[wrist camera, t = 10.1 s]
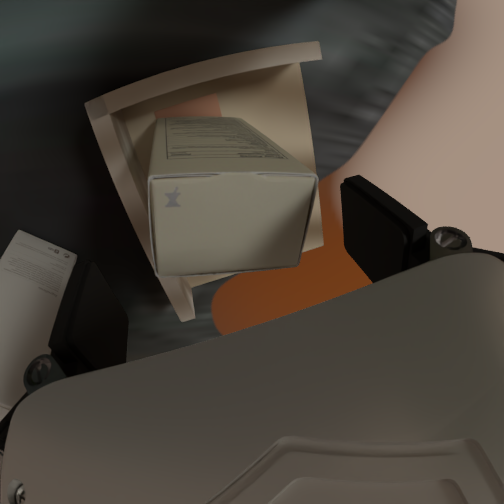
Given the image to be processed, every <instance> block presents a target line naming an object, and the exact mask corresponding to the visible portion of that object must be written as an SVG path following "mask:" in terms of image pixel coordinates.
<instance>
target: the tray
mask: <svg viewBox="0 0 504 504" xmlns="http://www.w3.org/2000/svg"><path fill="white" fill-rule="evenodd" d="M320 59H322V56H321V50H320V45H319V41H316V42H305V43H296V44H288V45H281V46H274V47H268V48H262V49H256V50H250V51H245V52H240V53H235V54H231V55H226V56H222V57H217V58H213V59H209V60H205V61H201V62H198V63H194V64H190V65H187V66H183V67H180V68H176V69H173V70H170V71H167V72H163V73H160V74H157V75H154V76H151V77H148V78H146V79H143V80H140V81H137V82H134V83H132V84H129V85H126V86H124V87H121V88H119V89H116V90H114V91H111V92H109V93H106V94H104V95H102V96H99V97H97V98H95V99H93V100H91V101H88V102H86V103H84V105H85V108H86V111H87V114H88V117H89V119H90V122H91V125H92V128H93V131H94V133H95V136H96V139H97V141H98V144H99V147H100V149H101V152H102V154H103V157H104V159H105V162H106V165H107V167H108V170H109V172H110V174H111V177H112V179H113V182H114V184H115V186H116V189H117V191H118V194H119V196H120V198H121V201H122V203H123V205H124V207H125V210H126V212H127V214H128V216H129V219H130V221H131V223H132V225H133V227H134V229H135V232H136V234H137V236H138V238H139V240H140V242H141V244H142V246H143V249H144V251H145V253H146V255H147V257H148V259H149V261H150V263H151V265H152V267H153V269H154V265H153V259H152V252H151V243H150V232H149V215H148V172H149V165H150V158H151V150H152V143H153V136H154V130H155V124H156V120H157V119H158V118H168V117H189V116H215V117H235V118H242V119H243V120H244V121H246V122H247V123H249V124H250V125H252V126H253V127H254V128H256V129H257V130H258V131H260V132H261V133H263V134H264V135H265V136H267V137H268V138H269V139H271V140H272V141H273V142H275V143H276V144H277V145H279V146H280V147H281V148H283V149H284V150H285V151H287V152H288V153H289V154H291V155H292V156H293V157H294V158H296V159H297V160H298V161H300V162H301V163H302V164H303V165H305V166H306V167H307V168H309V169H310V170H311V171H312V172H314V173H315V174H316V167H315V159H314V151H313V144H312V137H311V130H310V123H309V117H308V110H307V104H306V98H305V92H304V86H303V80H302V75H301V69H300V64H299V62H304V61H312V60H320ZM320 246H323V233H322V222H321V212H320V202H319V193H318V186H317V191H316V196H315V201H314V206H313V210H312V214H311V218H310V223H309V227H308V232H307V235H306V239H305V243H304V247H303V250H302V252H305V251H308V250H311V249H314V248H317V247H320ZM234 274H236V273H234ZM230 275H233V274H222V275H209V276H194V277H174V278H173V277H166V278H159V277H158V279H159V281H160V283H161V285H162V287H163V288H164V290H165V292H166V294H167V296H168V298H169V300H170V302H171V304H172V305H173V307H174V309H175V311H176V313H177V315H178V316H179V318H180V320H181V322H184V321H187V320H191V319H194V318H195V313H194V305H193V298H192V291H191V287H194V286H198V285H201V284H204V283H207V282H211V281H214V280H217V279H220V278H223V277H227V276H230Z"/></svg>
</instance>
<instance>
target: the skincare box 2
mask: <svg viewBox="0 0 504 504" xmlns="http://www.w3.org/2000/svg"><path fill="white" fill-rule="evenodd" d="M318 181H319V179H318V176H317V175H316V174H315V173H314V172H312V171H311V170H310V169H309V168H307V167H306V166H305V165H303V164H302V163H301V162H300V161H298V160H297V159H296V158H294V157H293V156H292V155H291V154H289V153H288V152H287V151H285V150H284V149H283V148H281V147H280V146H279V145H277V144H276V143H275V142H273V141H272V140H271V139H269V138H268V137H267V136H265V135H264V134H263V133H261V132H260V131H258V130H257V129H256V128H254V127H253V126H252V125H250V124H249V123H247V122H246V121H244V120H243V119H242V118H235V117H215V116H189V117H168V118H158V119H157V120H156V124H155V130H154V136H153V143H152V150H151V158H150V165H149V172H148V215H149V232H150V243H151V252H152V259H153V265H154V273H155V275H156V276H157V277H159V278H166V277H173V278H174V277H194V276H209V275H222V274H234V273H244V272H254V271H265V270H273V269H281V268H290V267H297V266H298V265H299V263H300V259H301V254H302V250H303V247H304V243H305V239H306V235H307V232H308V227H309V223H310V218H311V214H312V210H313V206H314V201H315V196H316V191H317V186H318Z"/></svg>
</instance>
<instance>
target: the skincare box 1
mask: <svg viewBox="0 0 504 504" xmlns="http://www.w3.org/2000/svg"><path fill="white" fill-rule="evenodd" d="M76 260H77V255H76V254H74V253H72V252H70V251H67V250H65V249H63V248H61V247H58V246H56V245H54V244H51V243H49V242H47V241H44V240H42V239H40V238H37V237H35V236H33V235H31V234H28V233H26V232H24V231H21V230H18V231H17V233H16V234H15V236H14V237H13V239H12V241H11V242H10V244H9V246H8V247H7V249H6V251H5V252H4V254H3V256H2V257H1V259H0V421H1V420H2V419H3V418H4V417H5V416H6V414H7V413H8V412H9V411H10V410H11V409H12V407H13V406H14V405H15V404H16V403H17V402H18V401H19V399H20V398H21V397H22V396H23V395H24V394H25V393H26V392H27V390H26V388H25V386H24V382H23V376H24V373H25V370H26V368H27V367H28V365H29V364H30V363H31V361H32V360H33V359H35V358H36V357H38V356H40V355H42V354H49V355H50V353H51V349H50V348H49V347H48V343H49V339H50V335H51V332H52V328H53V325H54V322H55V319H56V315H57V312H58V309H59V306H60V303H61V300H62V297H63V294H64V291H65V288H66V286H67V283H68V280H69V277H70V275H71V272H72V269H73V267H74V265H75V263H76Z"/></svg>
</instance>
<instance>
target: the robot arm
mask: <svg viewBox="0 0 504 504" xmlns="http://www.w3.org/2000/svg"><path fill="white" fill-rule="evenodd" d="M340 190H341V203H342V216H343V233H344V246H345V249H346V250H347V252H348V254H349V255H350V256H351V257H352V258H353V260H355V262H356V263H357V264H358V266H359V267H360V268H361V269H362V270H363V271H364V273H365V274H366V275H367V276H368V277H369V279H370V280H371V281H372V282H373V284H370V285H367V286H365V287H362V288H360V289H357V290H355V291H352V292H349V293H347V294H344V295H341V296H339V297H336V298H333V299H331V300H328V301H325V302H322V303H320V304H317V305H314V306H311V307H309V308H306V309H303V310H300V311H297V312H294V313H291V314H288V315H286V316H283V317H280V318H277V319H274V320H271V321H268V322H265V323H262V324H259V325H255V326H252V327H249V328H246V329H243V330H240V331H237V332H234V333H231V334H227V335H224V336H221V337H217V338H214V339H211V340H207V341H204V342H201V343H197V344H194V345H190V346H187V347H183V348H180V349H176V350H173V351H169V352H165V353H162V354H158V355H154V356H151V357H147V358H143V359H139V360H136V361H132V362H128V363H126V353H127V336H128V317H127V314H126V312H125V311H124V309H123V308H122V306H121V305H120V303H119V301H118V300H117V298H116V297H115V295H114V293H113V292H112V290H111V288H110V287H109V285H108V283H107V282H106V280H105V278H104V277H103V275H102V273H101V272H100V270H99V268H98V266H97V265H96V263H95V262H92V263H91V262H90V261H89V260H86V261H83V262H80V263H78V264H75V265H74V267H73V269H72V272H71V275H70V277H69V280H68V283H67V286H66V288H65V291H64V294H63V297H62V300H61V303H60V306H59V309H58V312H57V315H56V319H55V322H54V325H53V328H52V332H51V335H50V339H49V343H48V347H49V348H50V349H51V353H50V355H49V354H42V355H40V356H38V357H36V358H35V359H33V360H32V361H31V363H30V364H29V365H28V367H27V368H26V370H25V373H24V376H23V382H24V386H25V388H26V390H27V392H26V393H25V394H24V395H23V396H22V397H21V398H20V399H19V401H18V402H17V403H16V404H15V405H14V406H13V407H12V409H11V410H10V411H9V412H8V413H7V414H6V416H5V417H4V418H3V419H2V420H1V421H0V504H504V254H503V253H499V252H493V251H488V250H483V249H478V248H473V247H472V243H471V240H470V237H469V236H468V235H467V234H466V233H465V232H463V231H461V230H459V229H457V228H454V227H438V228H436V229H435V230H433V231H432V232H430V231H429V230H428V229H427V226H428V224H427V223H426V222H425V221H423V220H422V219H421V218H419V217H418V216H417V215H415V214H414V213H413V212H411V211H410V210H409V209H407V208H406V207H405V206H403V205H402V204H400V203H399V202H398V201H396V200H395V199H394V198H392V197H391V196H389V195H388V194H387V193H385V192H384V191H382V190H381V189H379V188H378V187H377V186H375V185H374V184H372V183H371V182H369V181H368V180H366V179H365V178H363V177H362V176H360V175H356V176H352V177H349V178H345V179H344V183H342V184H341V185H340Z"/></svg>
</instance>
